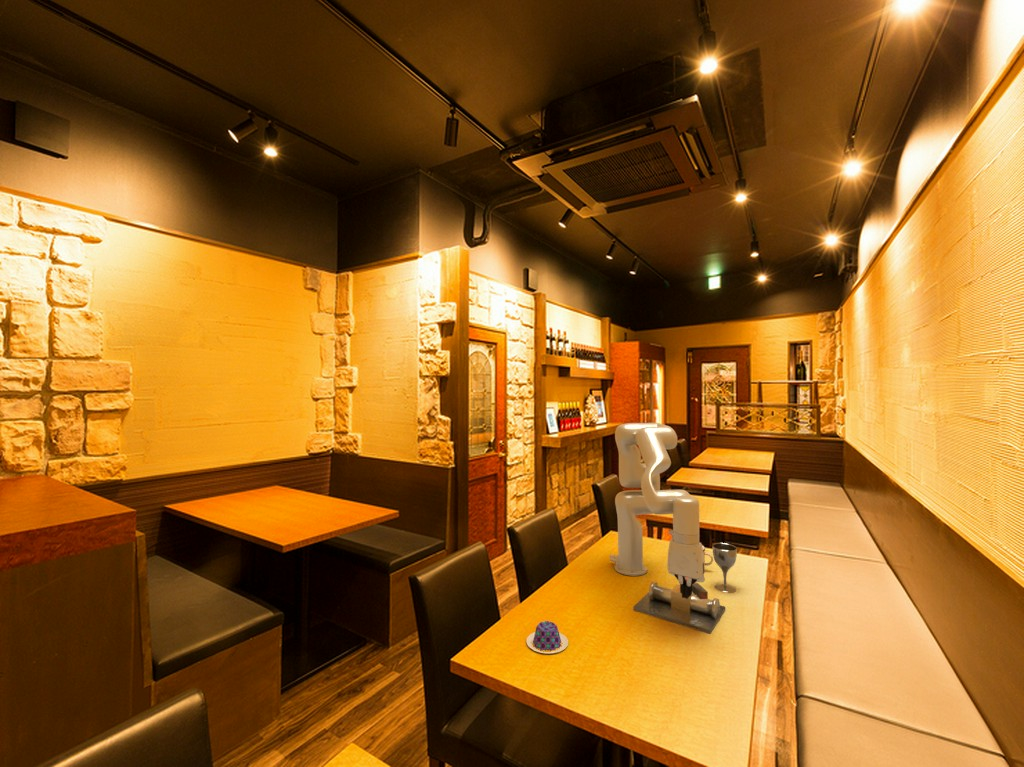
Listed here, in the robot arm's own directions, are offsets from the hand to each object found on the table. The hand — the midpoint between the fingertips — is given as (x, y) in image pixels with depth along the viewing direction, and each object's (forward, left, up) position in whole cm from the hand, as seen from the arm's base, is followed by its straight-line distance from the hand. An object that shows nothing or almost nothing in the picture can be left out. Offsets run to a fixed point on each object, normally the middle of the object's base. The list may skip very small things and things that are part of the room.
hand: (686, 596), depth 138 cm
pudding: (-29, -33, -10) cm, 45 cm away
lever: (0, +5, +1) cm, 5 cm away
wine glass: (+3, +35, -9) cm, 36 cm away
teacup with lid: (-10, +46, -9) cm, 48 cm away
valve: (-5, +9, -9) cm, 13 cm away
